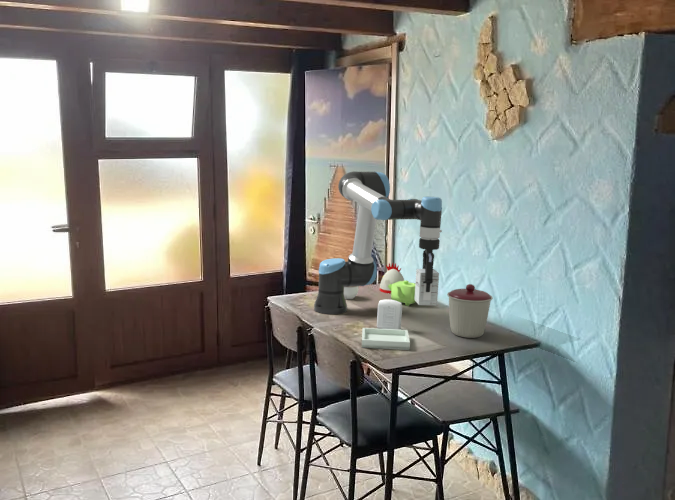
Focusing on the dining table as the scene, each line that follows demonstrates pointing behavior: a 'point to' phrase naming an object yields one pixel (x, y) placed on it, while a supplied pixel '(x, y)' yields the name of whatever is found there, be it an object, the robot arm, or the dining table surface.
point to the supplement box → (420, 288)
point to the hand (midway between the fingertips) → (425, 297)
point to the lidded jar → (350, 292)
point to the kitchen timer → (390, 278)
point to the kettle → (403, 292)
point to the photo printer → (389, 314)
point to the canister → (468, 311)
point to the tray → (385, 338)
